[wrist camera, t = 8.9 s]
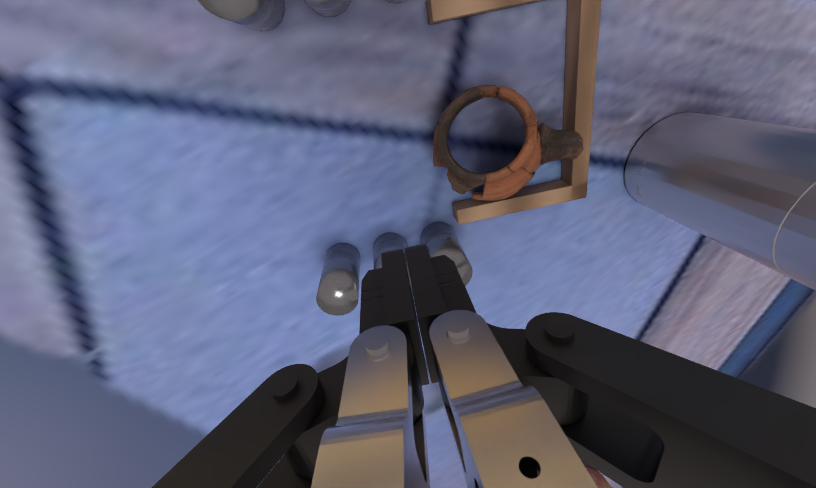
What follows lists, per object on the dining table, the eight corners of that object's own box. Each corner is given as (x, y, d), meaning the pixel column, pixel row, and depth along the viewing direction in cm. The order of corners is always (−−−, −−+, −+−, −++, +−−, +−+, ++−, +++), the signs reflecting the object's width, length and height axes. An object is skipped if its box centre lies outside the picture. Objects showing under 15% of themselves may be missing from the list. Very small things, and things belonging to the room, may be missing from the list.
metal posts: (414, -63, 23) (429, -109, 17) (455, 248, 36) (474, 286, 29) (224, -23, 23) (173, -55, 17) (331, 275, 36) (323, 319, 29)
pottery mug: (445, 209, 34) (432, 204, 26) (435, 115, 34) (420, 80, 26) (573, 194, 31) (604, 184, 23) (564, 92, 31) (593, 45, 23)
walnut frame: (587, -33, 25) (604, -41, 24) (574, 190, 34) (586, 197, 32) (425, 1, 25) (430, -4, 23) (454, 216, 34) (458, 224, 32)
